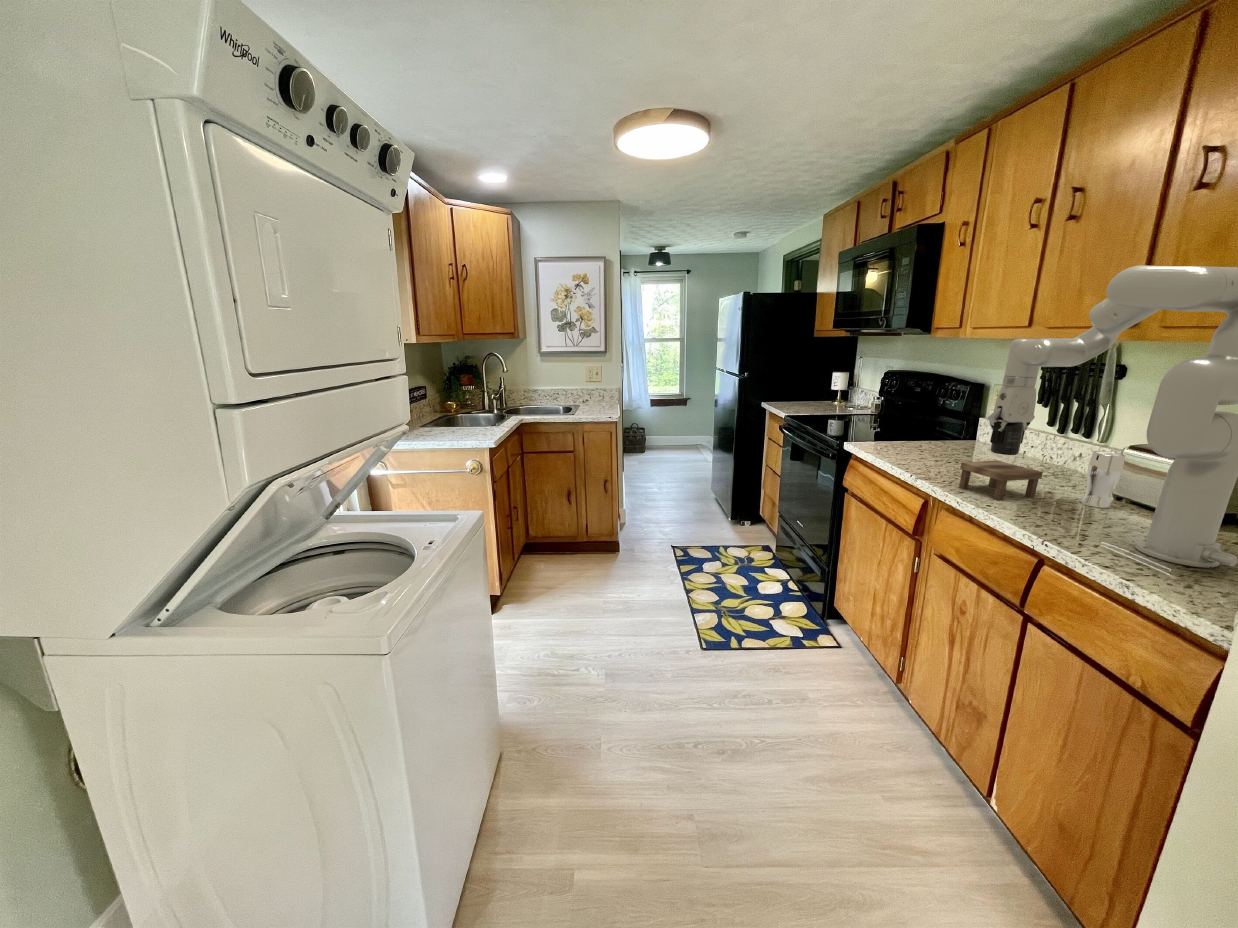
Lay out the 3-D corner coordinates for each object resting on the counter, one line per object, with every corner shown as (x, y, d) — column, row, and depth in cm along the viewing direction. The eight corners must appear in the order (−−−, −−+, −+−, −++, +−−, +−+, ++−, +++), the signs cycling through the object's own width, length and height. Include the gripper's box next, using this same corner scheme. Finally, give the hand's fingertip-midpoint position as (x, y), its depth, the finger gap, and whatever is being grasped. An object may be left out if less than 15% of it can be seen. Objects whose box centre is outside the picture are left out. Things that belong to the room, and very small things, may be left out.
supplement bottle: (1019, 453, 149) (1028, 413, 146) (1016, 456, 145) (1025, 415, 142) (991, 449, 154) (999, 410, 151) (987, 452, 149) (996, 413, 146)
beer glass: (1119, 508, 139) (1134, 456, 135) (1093, 508, 139) (1107, 456, 135) (1096, 500, 146) (1110, 450, 142) (1072, 500, 146) (1085, 450, 142)
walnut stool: (1036, 498, 147) (1042, 472, 145) (998, 501, 144) (1004, 474, 142) (992, 484, 161) (997, 460, 159) (956, 487, 157) (961, 462, 155)
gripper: (1007, 384, 138) (994, 447, 143) (1055, 383, 142) (1041, 444, 147) (982, 381, 146) (970, 441, 150) (1029, 381, 150) (1016, 439, 154)
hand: (1006, 442), depth 148 cm, fingers closed on supplement bottle, 6 cm apart
